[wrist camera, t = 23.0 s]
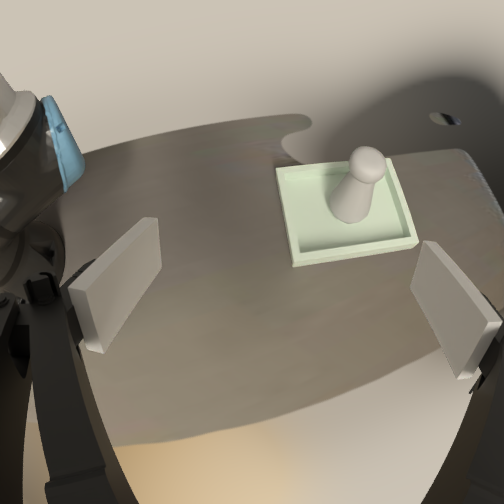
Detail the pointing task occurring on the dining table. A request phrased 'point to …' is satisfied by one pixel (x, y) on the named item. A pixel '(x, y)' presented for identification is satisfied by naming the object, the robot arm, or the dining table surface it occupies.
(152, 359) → the dining table surface
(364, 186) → the salt shaker
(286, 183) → the tray
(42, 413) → the robot arm
